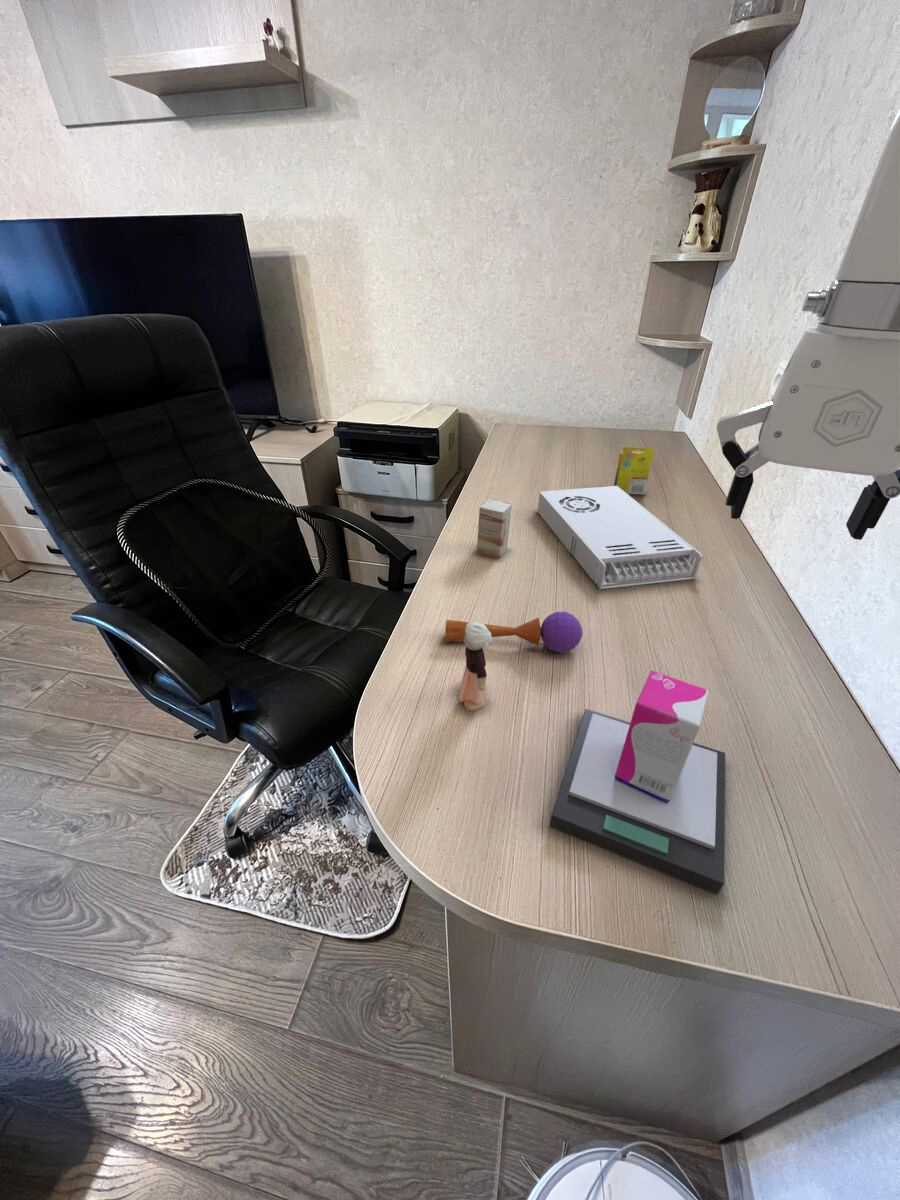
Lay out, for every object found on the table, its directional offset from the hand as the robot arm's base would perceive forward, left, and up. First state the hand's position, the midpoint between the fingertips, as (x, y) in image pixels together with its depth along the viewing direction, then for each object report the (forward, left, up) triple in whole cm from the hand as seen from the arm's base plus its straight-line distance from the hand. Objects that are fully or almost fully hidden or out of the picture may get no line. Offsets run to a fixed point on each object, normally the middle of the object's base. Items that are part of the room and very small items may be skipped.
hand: (791, 522), depth 47 cm
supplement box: (+6, +12, -26) cm, 29 cm away
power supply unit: (+20, -45, -28) cm, 57 cm away
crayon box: (+20, -74, -28) cm, 82 cm away
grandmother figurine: (+28, +8, -28) cm, 41 cm away
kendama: (+27, -6, -28) cm, 40 cm away
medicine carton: (+40, -31, -28) cm, 58 cm away
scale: (+6, +13, -28) cm, 32 cm away
